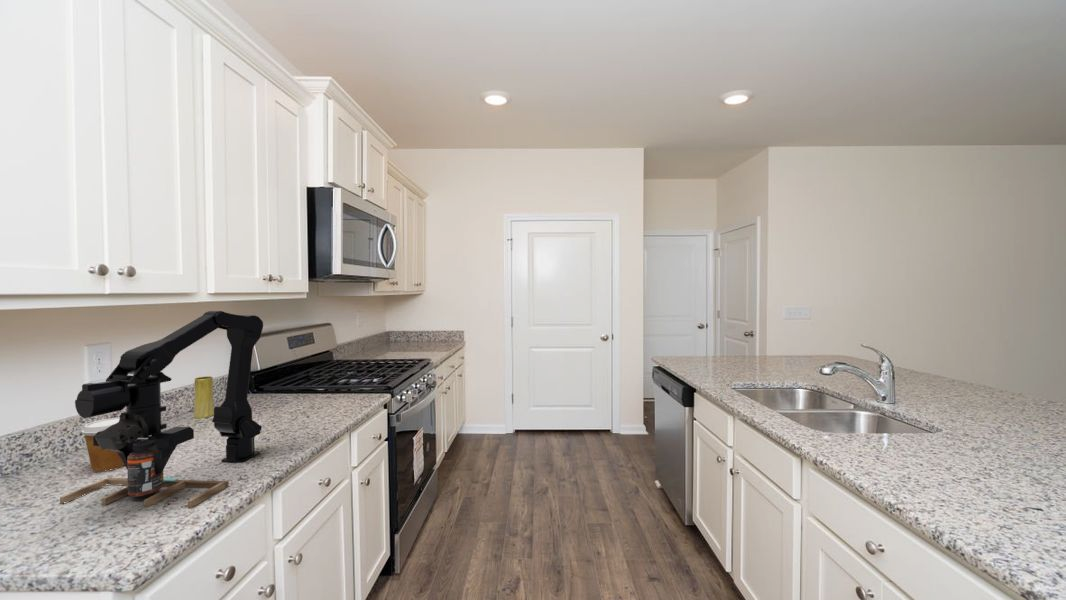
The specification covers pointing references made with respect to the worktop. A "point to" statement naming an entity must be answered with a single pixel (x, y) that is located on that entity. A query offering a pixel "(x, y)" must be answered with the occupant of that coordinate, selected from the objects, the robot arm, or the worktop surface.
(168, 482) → the notched rack
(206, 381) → the vase
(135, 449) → the supplement bottle
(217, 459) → the worktop surface
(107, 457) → the disposable coffee cup
